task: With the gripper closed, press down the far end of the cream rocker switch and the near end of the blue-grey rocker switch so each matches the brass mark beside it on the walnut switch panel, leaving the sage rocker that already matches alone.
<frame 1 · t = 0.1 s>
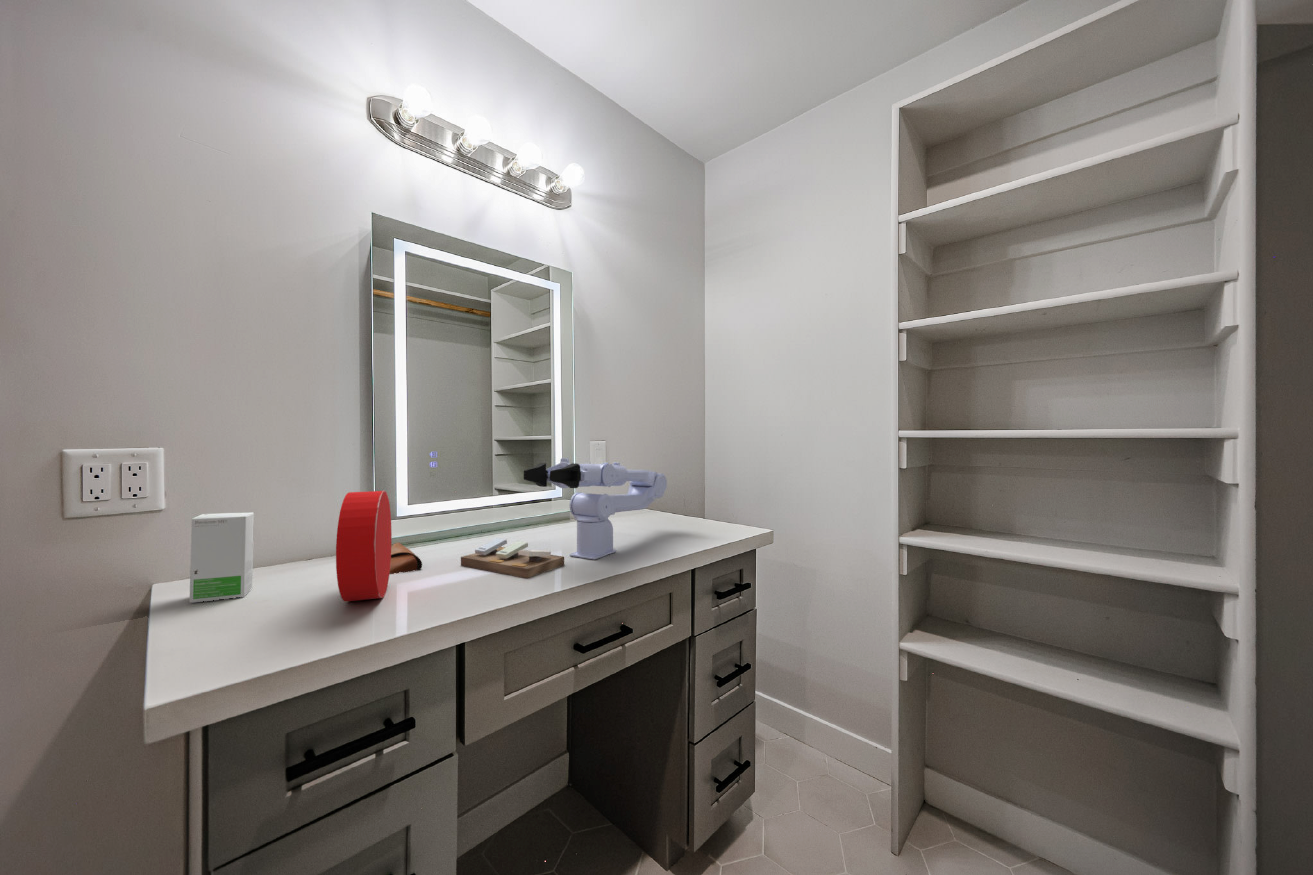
hand: (537, 475, 111), 22 cm above the worktop, tool horizontal, fingers open, 7 cm apart
sunglasses case: (394, 567, 119), on the worktop
bluegrey rocker: (491, 546, 121), point 4 cm above the worktop, hinge at 12.0°
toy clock: (367, 598, 95), on the worktop
skincare box: (223, 596, 96), on the worktop
cream rocker: (535, 552, 114), point 4 cm above the worktop, hinge at -12.0°
sage rocker: (512, 549, 118), point 4 cm above the worktop, hinge at 12.0°
switch panel: (512, 565, 118), on the worktop
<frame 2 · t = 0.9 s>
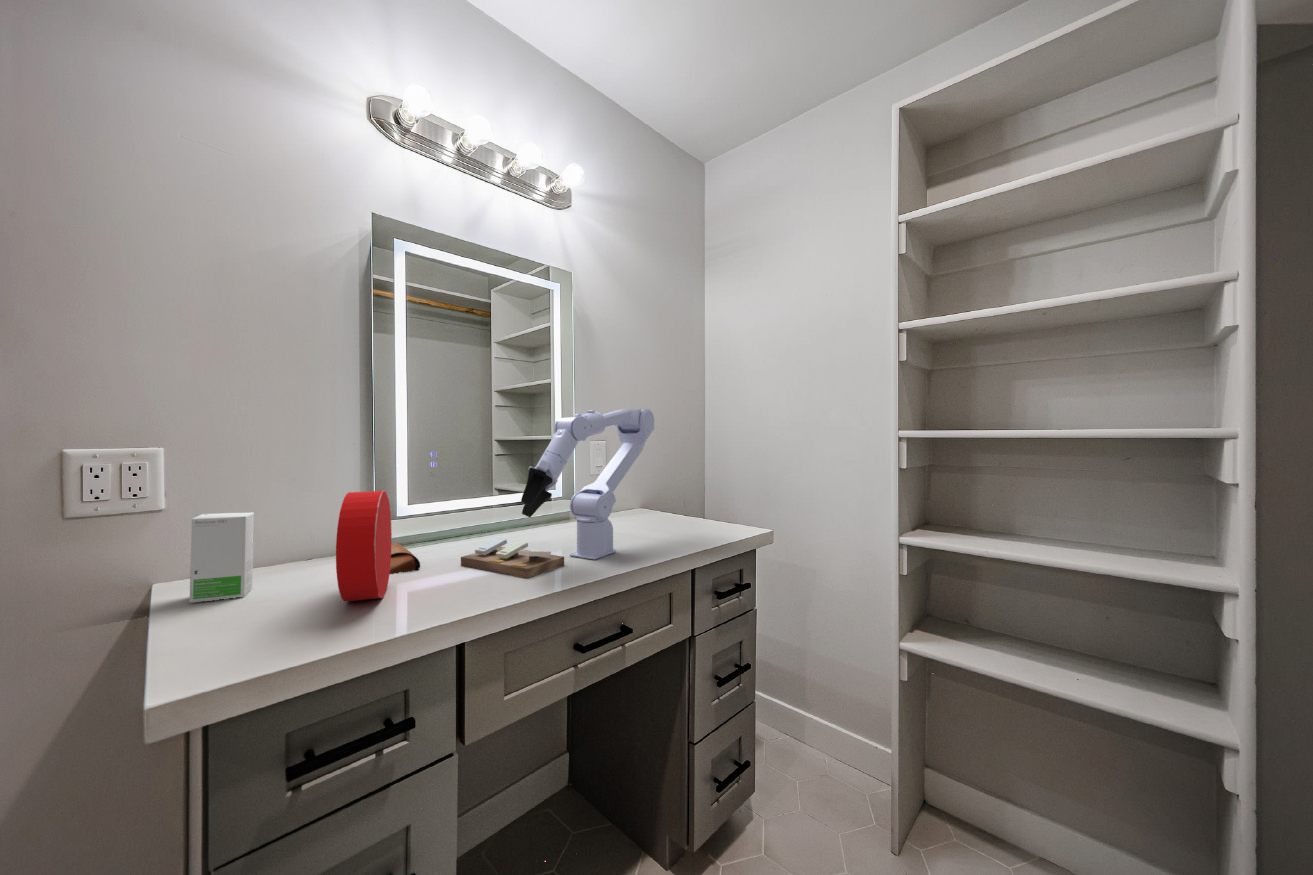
hand: (525, 509, 110), 14 cm above the worktop, tool tilted 40°, fingers open, 7 cm apart
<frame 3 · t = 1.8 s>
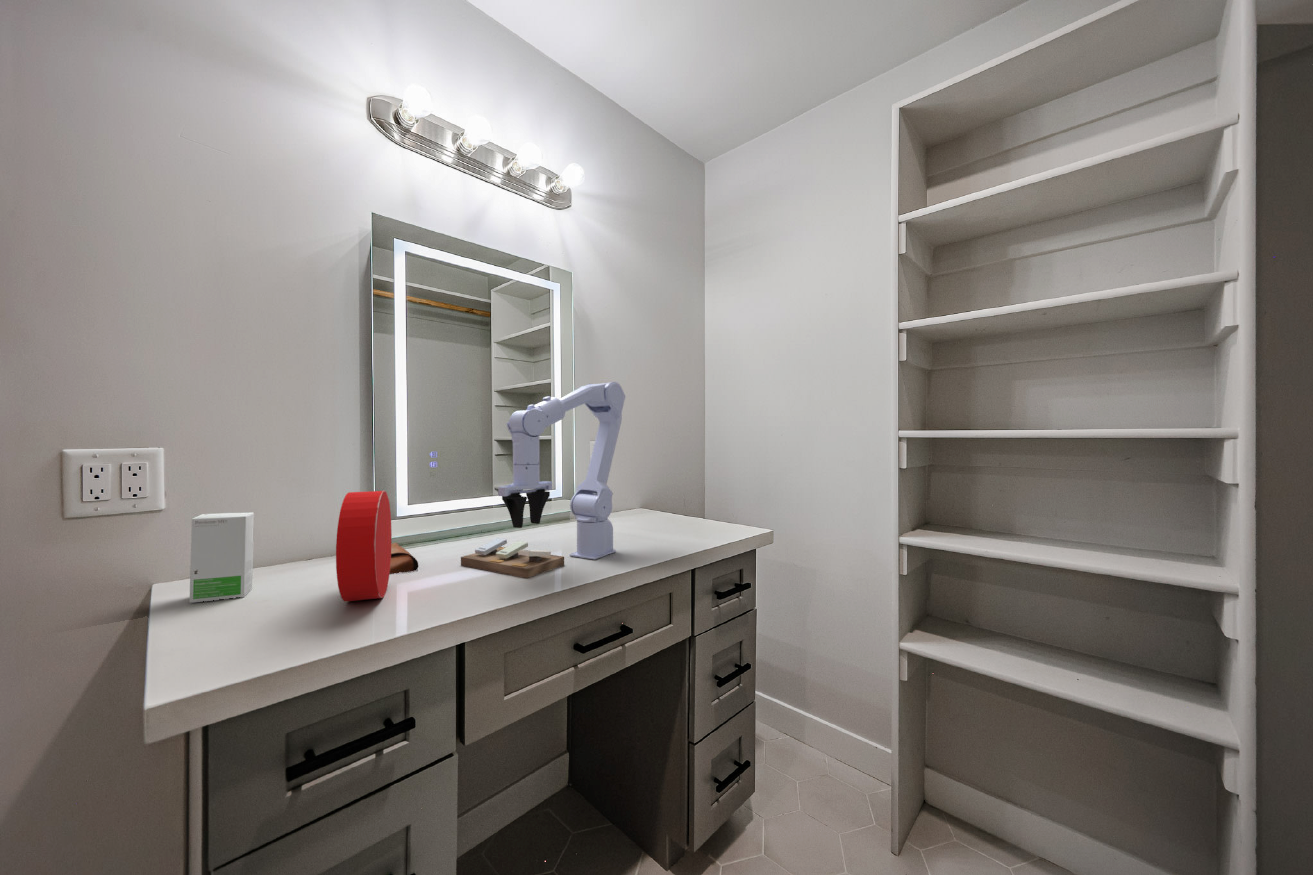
hand: (526, 525, 112), 10 cm above the worktop, tool pointing down, fingers open, 5 cm apart
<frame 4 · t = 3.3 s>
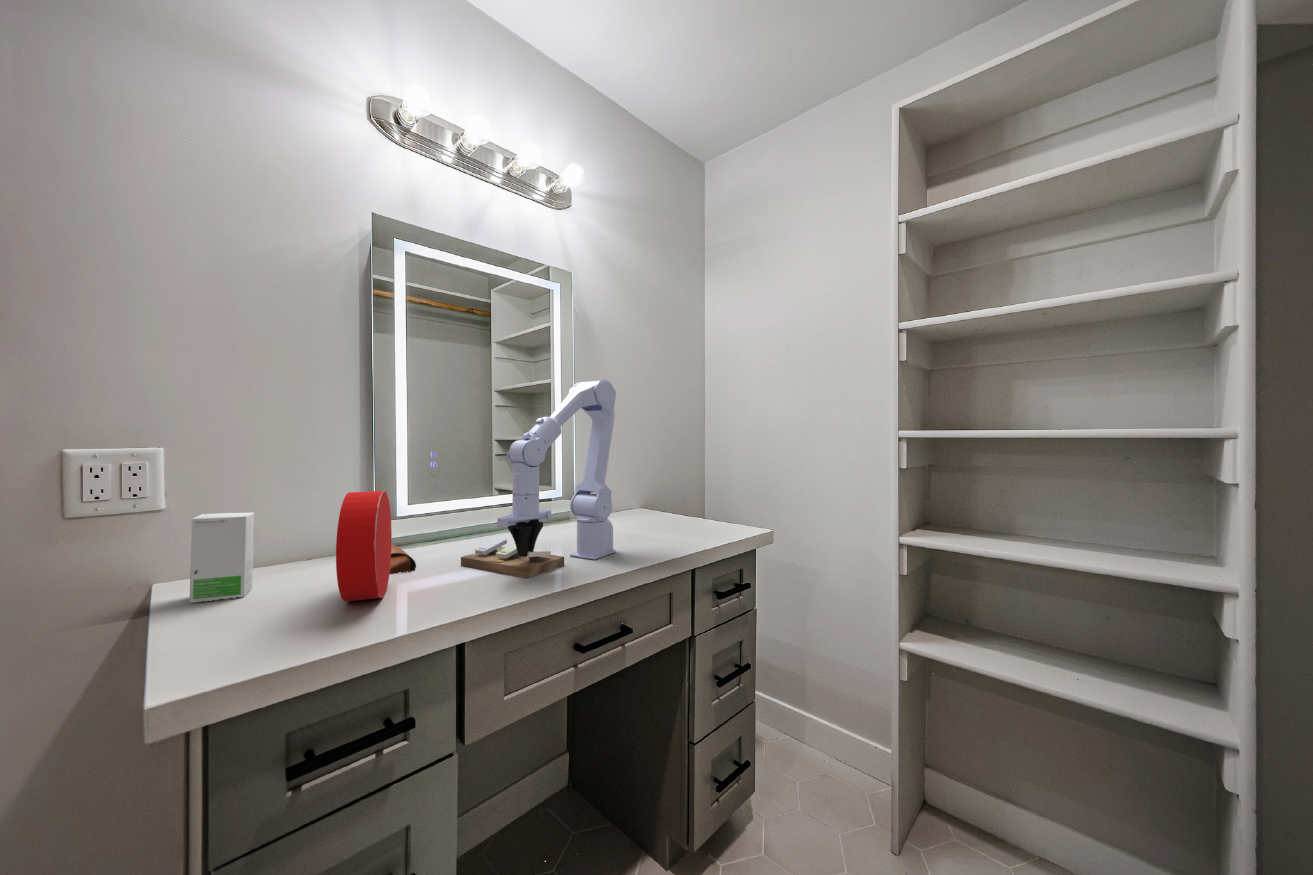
hand: (525, 555, 112), 4 cm above the worktop, tool pointing down, fingers closed, pressing on cream rocker
cream rocker: (534, 552, 114), point 4 cm above the worktop, hinge at -9.3°, touching gripper
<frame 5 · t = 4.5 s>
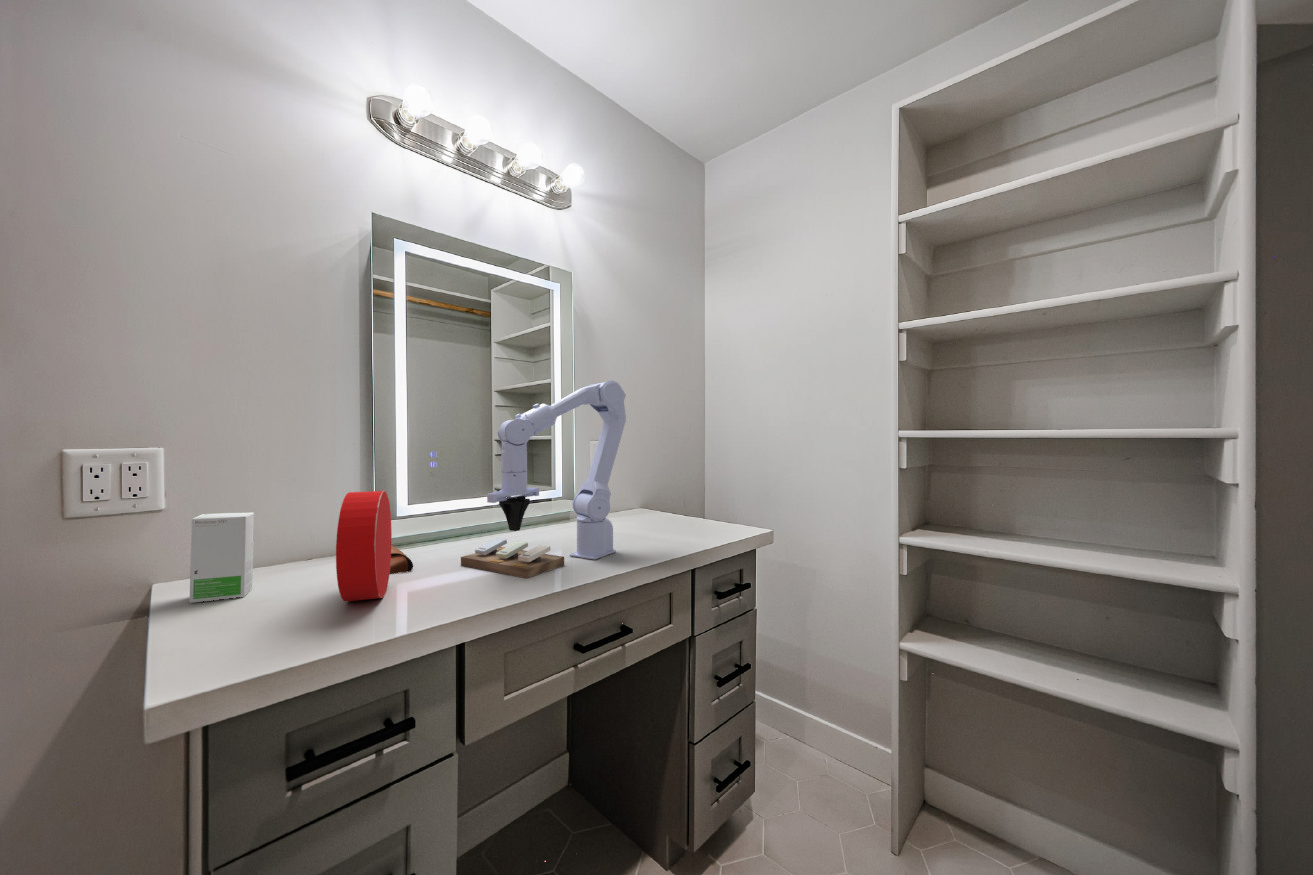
hand: (514, 530, 116), 8 cm above the worktop, tool pointing down, fingers closed
cream rocker: (534, 552, 114), point 4 cm above the worktop, hinge at 9.8°
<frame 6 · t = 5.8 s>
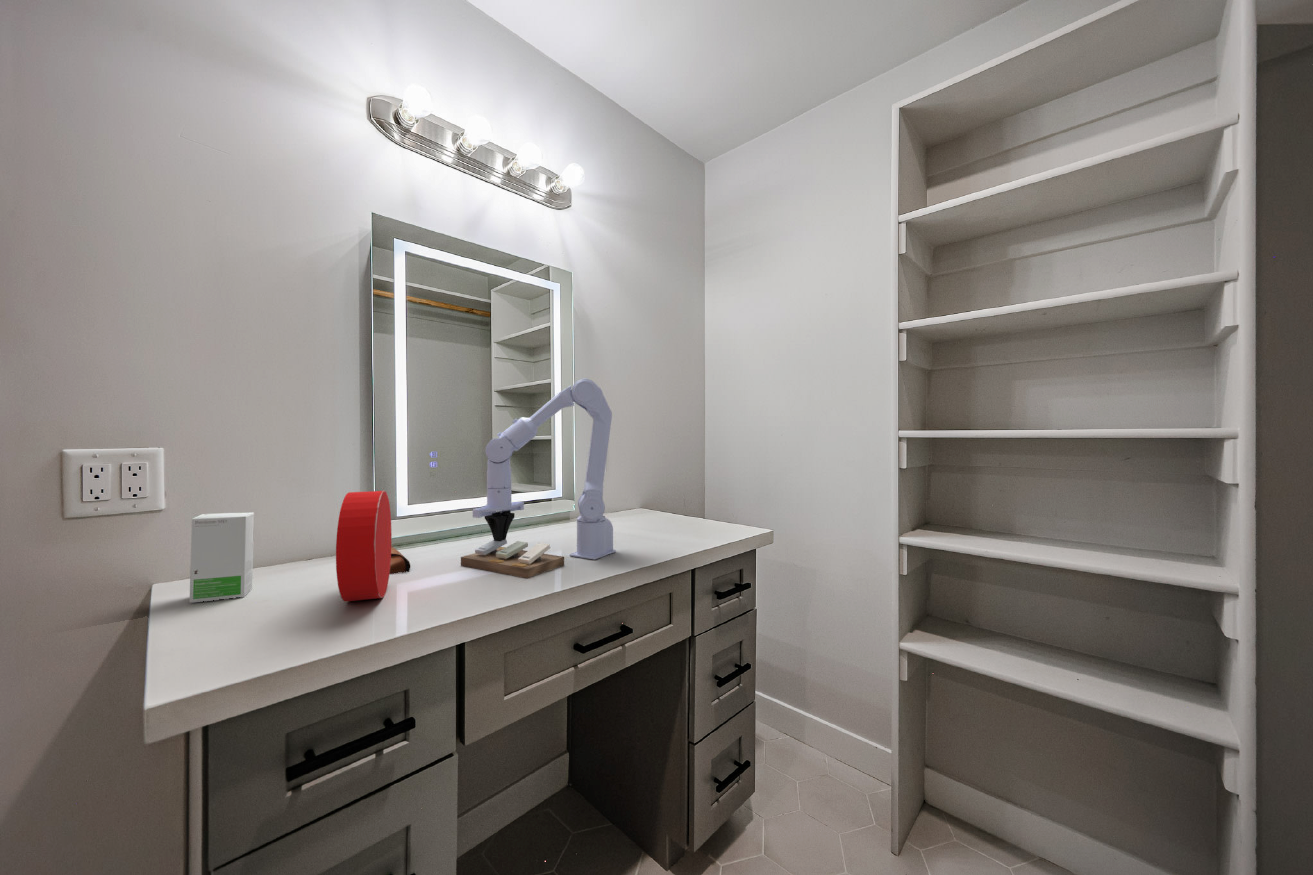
hand: (499, 542, 123), 4 cm above the worktop, tool pointing down, fingers closed, pressing on bluegrey rocker
bluegrey rocker: (491, 546, 121), point 4 cm above the worktop, hinge at 11.9°, touching gripper
cream rocker: (534, 553, 114), point 4 cm above the worktop, hinge at 18.8°
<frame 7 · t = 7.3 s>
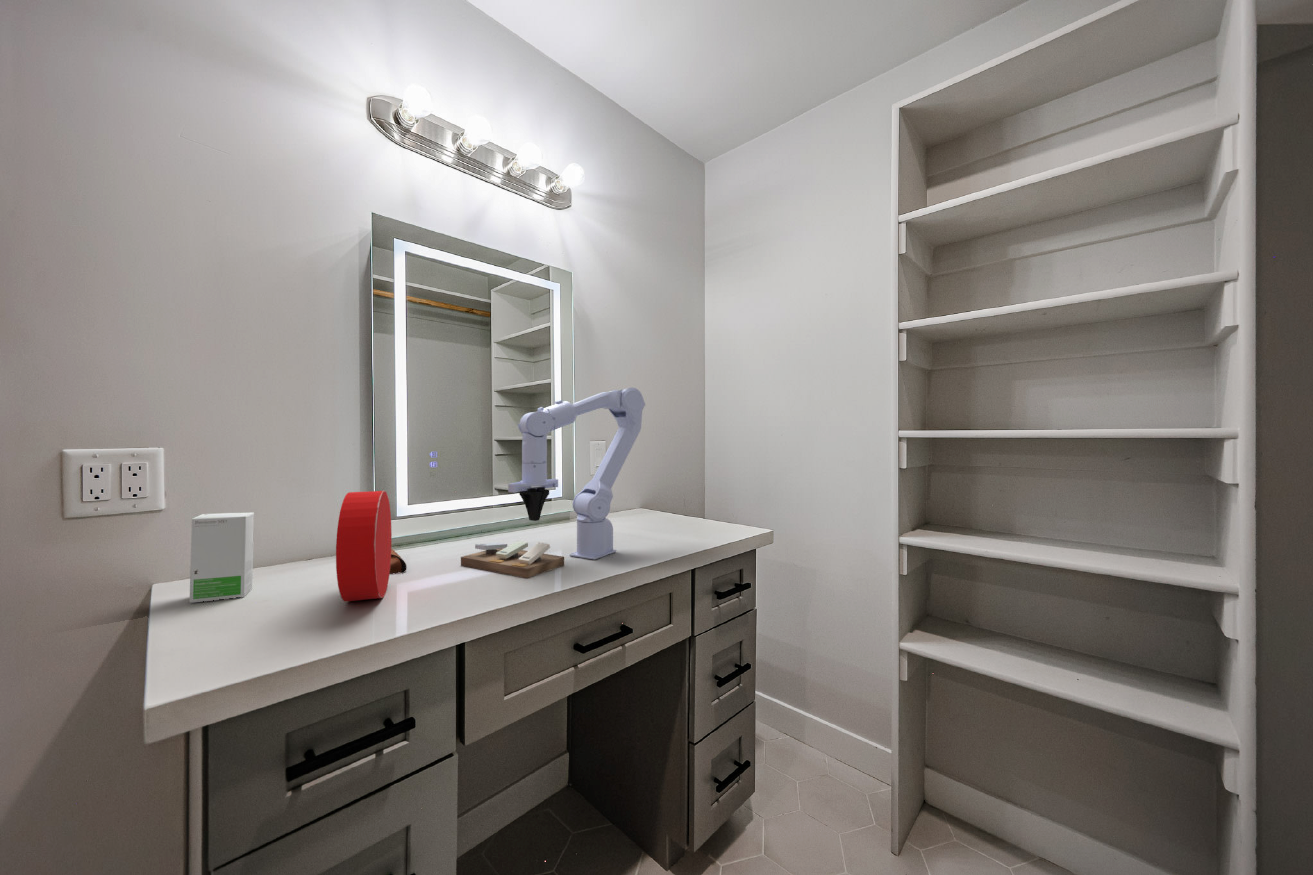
hand: (534, 520, 119), 10 cm above the worktop, tool pointing down, fingers closed
bluegrey rocker: (491, 546, 121), point 4 cm above the worktop, hinge at -8.0°
cream rocker: (534, 553, 114), point 4 cm above the worktop, hinge at 20.3°, touching switch panel
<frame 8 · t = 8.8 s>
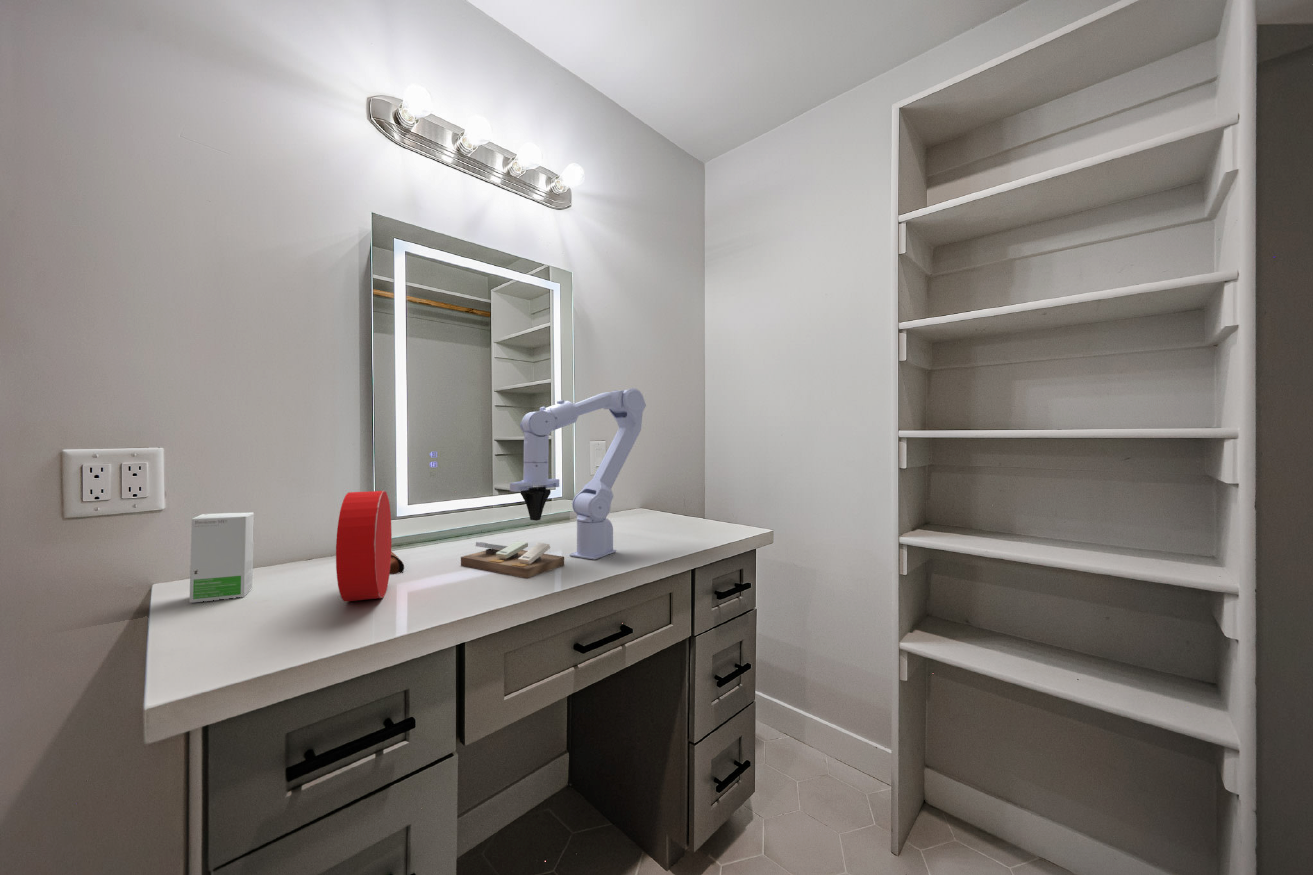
hand: (535, 519, 119), 10 cm above the worktop, tool pointing down, fingers closed
bluegrey rocker: (491, 546, 121), point 4 cm above the worktop, hinge at -16.8°
cream rocker: (534, 553, 114), point 4 cm above the worktop, hinge at 18.9°
at the end: cream rocker at +19° (first picture: -12°); bluegrey rocker at -17° (first picture: +12°); sage rocker at +12° (first picture: +12°) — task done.
